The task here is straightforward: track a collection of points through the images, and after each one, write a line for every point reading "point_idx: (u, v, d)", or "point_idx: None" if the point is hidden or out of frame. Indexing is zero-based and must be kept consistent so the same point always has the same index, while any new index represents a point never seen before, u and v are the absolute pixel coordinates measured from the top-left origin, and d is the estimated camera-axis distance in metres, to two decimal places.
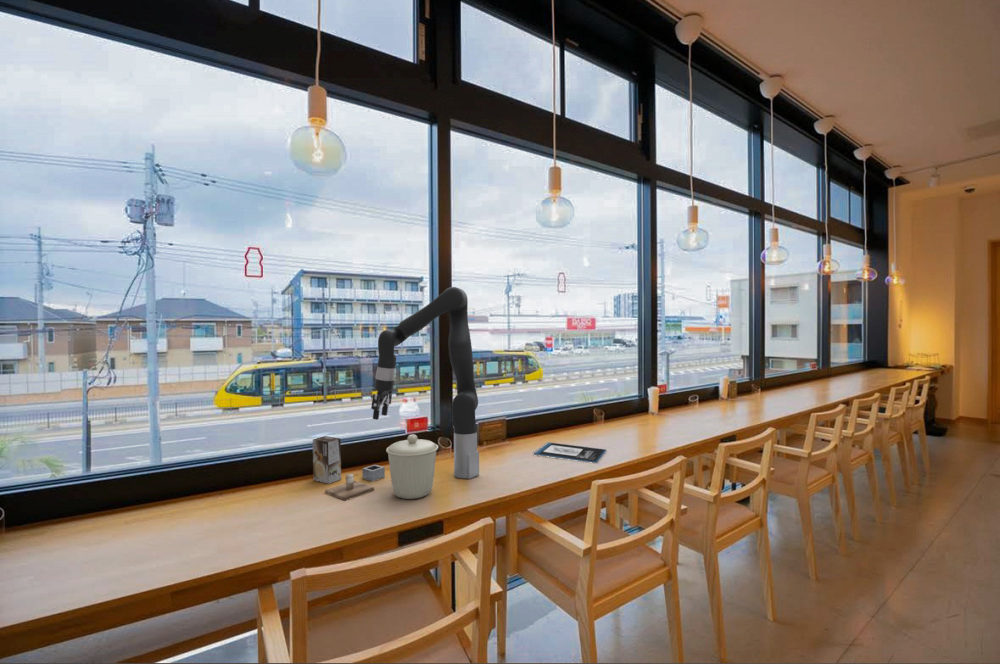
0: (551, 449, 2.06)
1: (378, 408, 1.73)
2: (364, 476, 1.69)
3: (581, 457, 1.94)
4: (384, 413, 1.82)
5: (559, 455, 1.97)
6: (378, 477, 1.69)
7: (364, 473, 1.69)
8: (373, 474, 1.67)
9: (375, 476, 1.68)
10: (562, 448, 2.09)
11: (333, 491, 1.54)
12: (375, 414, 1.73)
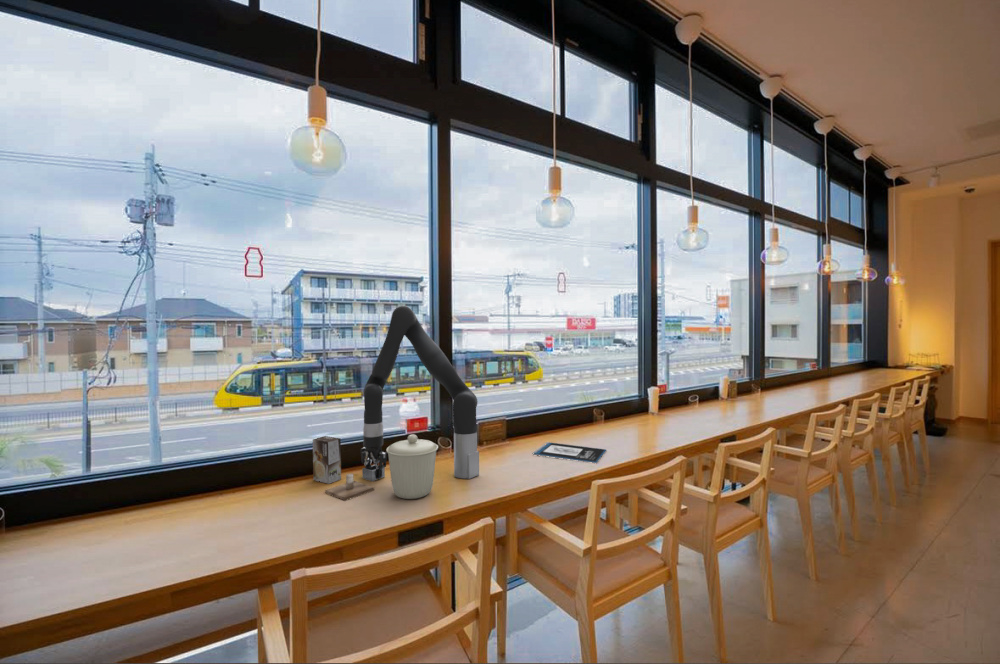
0: (551, 449, 2.06)
1: None
2: (364, 476, 1.69)
3: (581, 457, 1.94)
4: None
5: (559, 455, 1.97)
6: None
7: (364, 473, 1.69)
8: (373, 474, 1.67)
9: (375, 476, 1.68)
10: (561, 448, 2.09)
11: (333, 491, 1.54)
12: (380, 472, 1.68)
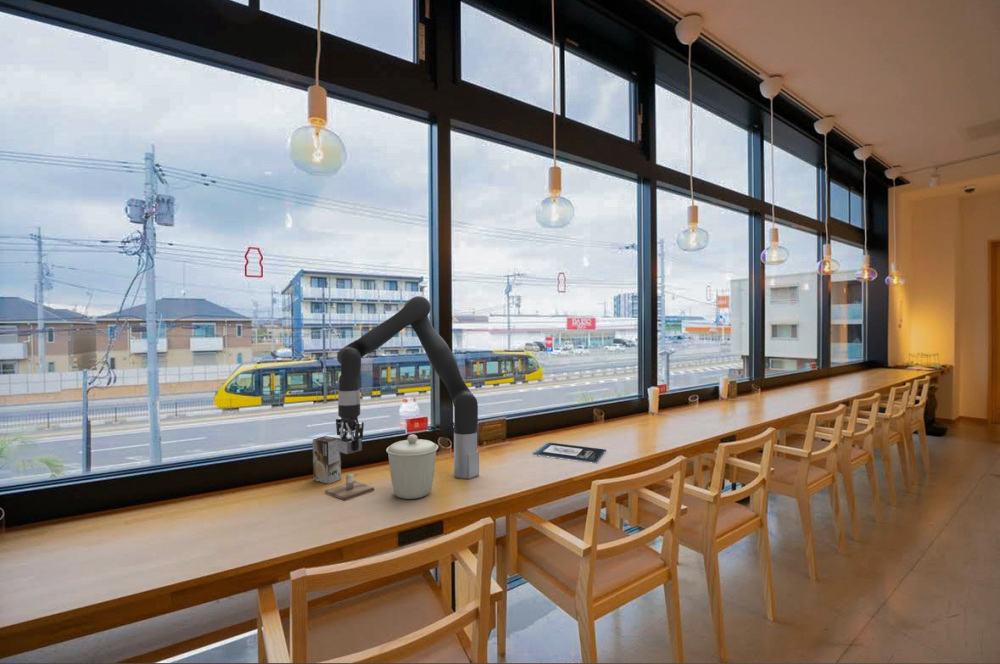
0: (551, 449, 2.06)
1: None
2: (339, 449, 1.55)
3: (581, 457, 1.94)
4: None
5: (559, 455, 1.97)
6: None
7: (339, 445, 1.55)
8: (348, 446, 1.53)
9: (351, 448, 1.53)
10: (561, 448, 2.09)
11: (333, 491, 1.54)
12: (357, 444, 1.54)
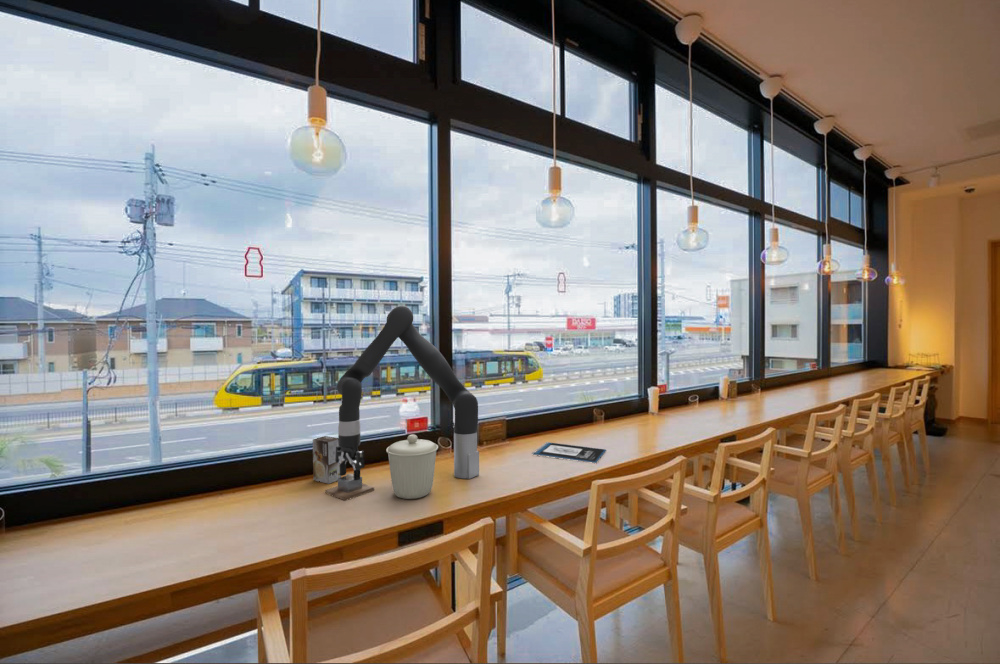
0: (551, 449, 2.06)
1: None
2: (339, 487, 1.55)
3: (581, 457, 1.94)
4: (343, 472, 1.59)
5: (559, 455, 1.97)
6: (355, 488, 1.55)
7: (339, 483, 1.55)
8: (349, 485, 1.53)
9: (351, 487, 1.53)
10: (561, 448, 2.09)
11: (333, 491, 1.54)
12: (359, 474, 1.53)
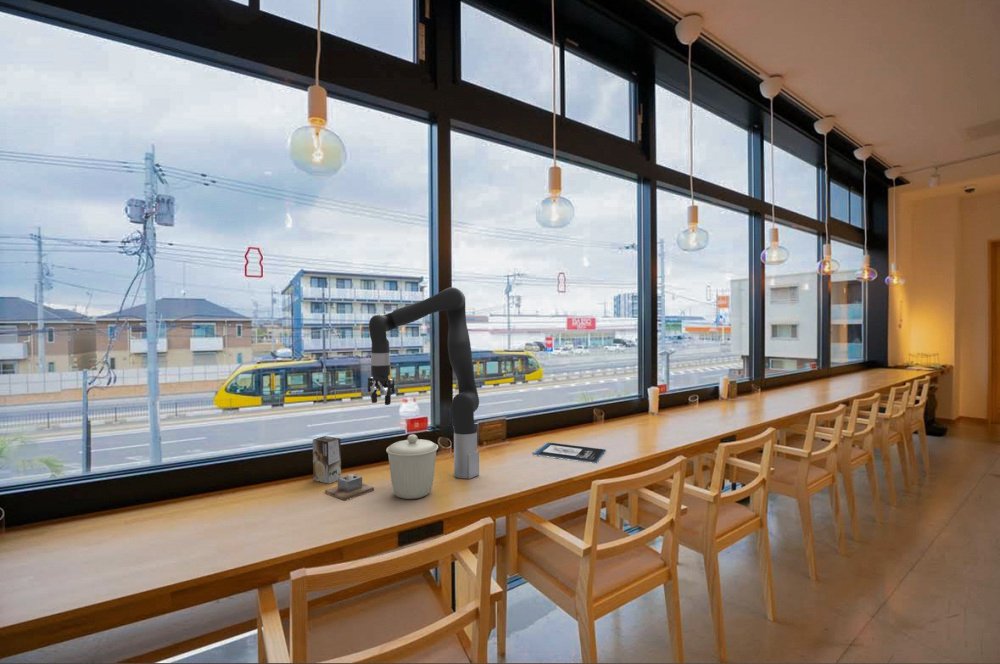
0: (550, 449, 2.06)
1: None
2: (339, 487, 1.55)
3: (581, 457, 1.94)
4: (375, 400, 1.80)
5: (559, 455, 1.97)
6: (355, 488, 1.55)
7: (339, 483, 1.55)
8: (349, 485, 1.53)
9: (351, 487, 1.53)
10: (561, 448, 2.09)
11: (333, 491, 1.54)
12: (389, 399, 1.74)
